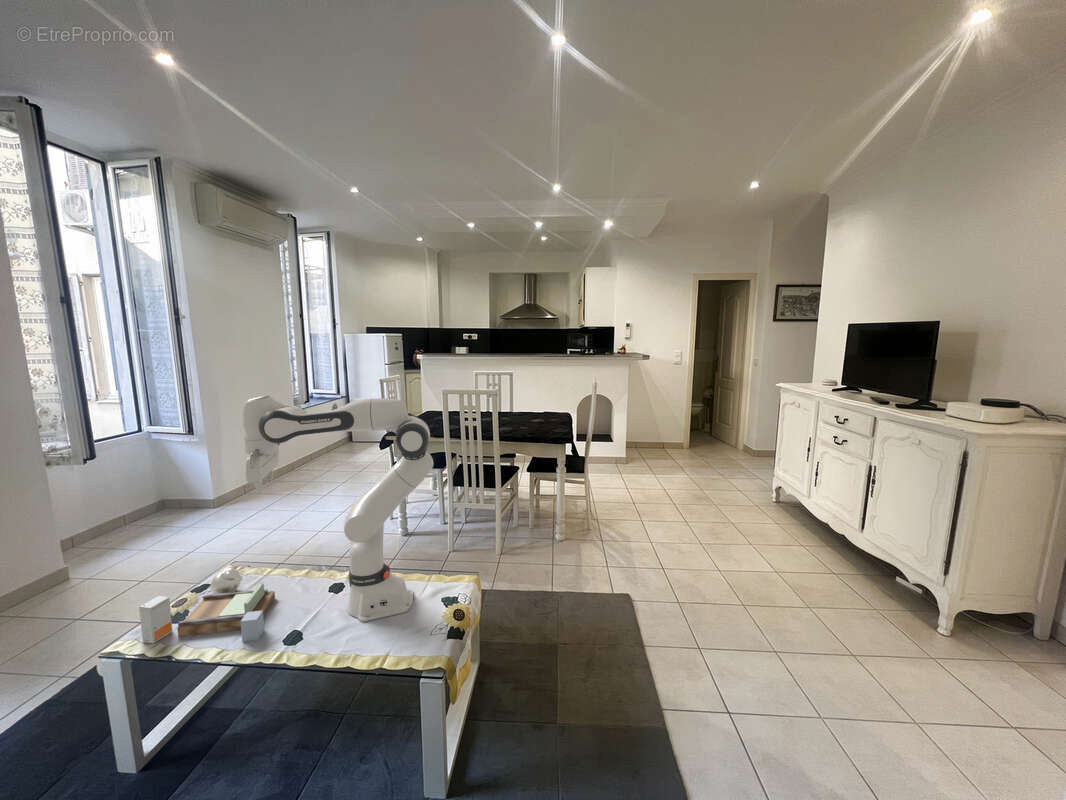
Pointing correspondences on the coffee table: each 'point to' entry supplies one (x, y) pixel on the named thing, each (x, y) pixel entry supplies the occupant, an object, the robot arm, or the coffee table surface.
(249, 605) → the lid
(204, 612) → the wooden box frame
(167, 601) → the skincare box
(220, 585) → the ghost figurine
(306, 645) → the coffee table surface
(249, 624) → the block
